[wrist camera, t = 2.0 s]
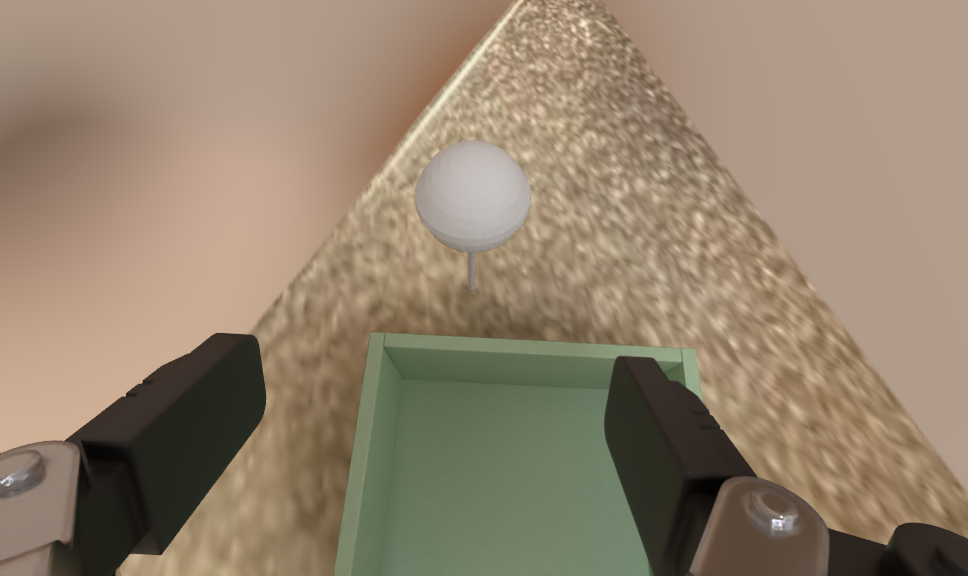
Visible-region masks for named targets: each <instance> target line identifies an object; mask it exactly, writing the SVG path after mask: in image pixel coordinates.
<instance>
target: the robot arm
mask: <svg viewBox="0 0 968 576" xmlns="http://www.w3.org/2000/svg"><path fill="white" fill-rule="evenodd" d="M265 406H266V390H265V383H264V376H263V369H262V362H261V355H260V348H259V343H258V340H257V338H256V337H255V336H254V335H247V334H228V333H216V334H214V335H212V336H211V337H210V338H208V339H207V340H206V341H204V342H203V343H202V344H201V345H200V346H198V347H197V348H196V349H194V350H193V351H192V352H191V353H189V354H186V355H184V356H182V357H180V358H178V359H175V360H173V361H171V362H169V363H167V364H165V365H163V366H161V367H160V368H158V369H157V370H156V371H154V372H153V373H152V374H151V375H149V376H148V377H147V378H145V379H144V380H143V383H142V384H138V385H136V386H135V387H134V388H132V389H131V390H130V391H128V392H127V393H126V396H125V397H121V398H119V399H118V400H117V401H115V402H114V403H113V404H112V405H110V406H109V407H108V408H106V409H105V410H104V411H102V412H101V413H100V414H99V415H97V416H96V417H95V418H93V419H92V420H91V421H89V423H87V424H86V425H84V426H83V427H82V428H80V429H79V430H78V431H76V432H75V433H74V434H73V435H71V436H70V437H69V438H67V439H66V440H65V441H54V440H53V441H43V442H37V443H32V444H28V445H23V446H20V447H17V448H13V449H11V450H8V451H6V452H3V453H0V576H122V575H121V572H120V570H119V566H120V565H121V564H122V563H123V562H124V560H125V559H126V558H127V557H128V555H129V554H148V555H162V554H163V552H164V551H165V549H166V548H167V547H168V545H169V544H170V543H171V541H172V540H173V539H174V537H175V536H176V535H177V533H178V532H179V531H180V529H181V528H182V527H183V525H184V524H185V523H186V521H187V520H188V519H189V517H190V516H191V515H192V513H193V512H194V510H195V509H196V508H197V506H198V505H199V504H200V502H201V501H202V500H203V498H204V497H205V496H206V494H207V493H208V492H209V490H210V489H211V488H212V486H213V485H214V484H215V482H216V481H217V480H218V478H219V477H220V476H221V474H222V473H223V471H224V470H225V469H226V467H227V466H228V465H229V463H230V462H231V461H232V459H233V458H234V457H235V455H236V454H237V453H238V451H239V450H240V449H241V447H242V446H243V445H244V443H245V442H246V441H247V439H248V438H249V437H250V435H251V434H252V432H253V431H254V430H255V428H256V427H257V426H258V424H259V423H260V421H261V419H262V417H263V414H264V411H265ZM604 432H605V439H606V443H607V446H608V448H609V451H610V454H611V457H612V460H613V463H614V465H615V468H616V471H617V474H618V477H619V479H620V482H621V485H622V488H623V491H624V493H625V496H626V499H627V502H628V505H629V507H630V510H631V513H632V516H633V519H634V521H635V524H636V527H637V530H638V533H639V536H640V538H641V541H642V544H643V547H644V550H645V552H646V555H647V558H648V561H649V564H650V566H651V569H652V572H653V575H654V576H968V539H967V538H965V537H963V536H961V535H958V534H956V533H953V532H951V531H949V530H946V529H943V528H940V527H936V526H933V525H929V524H923V523H905V524H902V525H900V526H898V527H897V528H896V529H895V531H894V533H893V535H892V537H891V539H890V541H889V543H888V545H884V544H880V543H877V542H873V541H870V540H866V539H863V538H860V537H856V536H853V535H849V534H846V533H842V532H839V531H836V530H832V529H829V528H827V526H826V524H825V523H824V521H823V519H822V518H821V517H820V515H819V514H818V513H817V512H816V511H815V510H814V509H813V508H812V507H811V506H810V505H809V504H808V503H807V502H806V501H805V500H803V499H802V498H800V497H799V496H798V495H796V494H795V493H793V492H791V491H790V490H788V489H786V488H784V487H782V486H780V485H778V484H775V483H773V482H770V481H767V480H764V479H761V478H758V477H757V475H756V474H755V473H754V471H753V470H752V469H751V467H750V466H749V465H748V463H747V462H746V461H745V459H744V458H743V456H742V455H741V454H740V452H739V451H738V450H737V448H736V447H735V446H734V444H733V443H732V442H731V440H730V439H729V438H728V436H727V435H726V433H725V432H724V431H723V430H720V425H719V424H718V423H717V421H716V420H715V419H714V417H713V416H712V415H710V412H709V410H708V409H707V408H706V406H705V405H704V404H703V402H702V401H701V400H700V398H699V397H698V396H697V395H696V394H695V393H693V392H692V391H691V390H689V389H688V388H686V387H685V386H684V385H682V384H681V383H680V382H678V381H669V379H668V378H667V376H666V375H665V373H664V372H663V370H662V369H661V367H660V366H659V365H658V363H657V362H656V360H655V359H654V358H652V357H636V356H618V357H617V358H616V360H615V362H614V366H613V371H612V377H611V382H610V388H609V393H608V399H607V404H606V410H605V416H604Z"/></svg>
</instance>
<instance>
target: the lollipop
mask: <svg viewBox="0 0 968 576" xmlns="http://www.w3.org/2000/svg"><path fill="white" fill-rule="evenodd" d="M530 200H531V192H530V184H529V182H528V179H527V177H526V175H525V174H524V172H523V171H522V169H521V168H520V166H519V165H518V164H517V163H516V161H515V160H514V159H513V158H512V157H511V156H510V155H509V154H508V153H507V152H505V151H504V150H503V149H501V148H499V147H497V146H495V145H493V144H490V143H487V142H483V141H476V140H472V141H463V142H458V143H456V144H453V145H450V146H448V147H446V148H444V149H443V150H441V151H440V152H439V153H437V154H436V155H435V156H434V157H433V159H432V160H431V161H430V162H429V163H428V165H427V166H426V167H425V169H424V170H423V171H422V173H421V175H420V177H419V179H418V181H417V185H416V189H415V205H416V209H417V213H418V215H419V217H420V219H421V221H422V223H423V224H424V225H425V226H426V227H427V228H428V230H429V231H430V232H431V233H432V234H433V235H434V237H435V238H436V239H438V240H439V241H440V242H441V243H443V244H444V245H446V246H448V247H450V248H452V249H455V250H458V251H462V252H468V289H469V291H473V290H474V277H475V252H484V251H488V250H492V249H494V248H496V247H499V246H500V245H502V244H503V243H505V242H506V241H507V240H508V239H509V238H510V237H511V236H512V235H513V234H514V233H515V232H516V231H517V230H518V229H519V227H520V226H521V225H522V223H523V222H524V220H525V219H526V217H527V214H528V211H529V208H530Z"/></svg>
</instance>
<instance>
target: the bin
mask: <svg viewBox="0 0 968 576" xmlns="http://www.w3.org/2000/svg"><path fill="white" fill-rule="evenodd" d="M618 356H636V357H652V358H654V359H655V360H656V362H657V363H658V365H659V366H660V367H661V369H662V370H663V372H664V373H665V375H666V376H667V378H668V379H669V381H678V382H680V383H681V384H682V385H684V386H685V387H686V388H688V389H689V390H691V391H692V392H693V393H695V394H696V395H697V396H698V397H699V398H700V400H701V401H702V402H703V397H702V391H701V384H700V377H699V371H698V364H697V357H696V351H695V349H690V348H668V347H650V346H631V345H612V344H593V343H574V342H555V341H536V340H517V339H498V338H479V337H460V336H441V335H422V334H403V333H383V332H371V333H370V338H369V345H368V351H367V358H366V364H365V371H364V377H363V384H362V390H361V397H360V403H359V410H358V416H357V423H356V429H355V436H354V442H353V449H352V455H351V462H350V468H349V475H348V481H347V488H346V494H345V501H344V507H343V514H342V520H341V527H340V533H339V540H338V546H337V553H336V559H335V566H334V572H333V576H654V575H653V572H652V569H651V566H650V564H649V561H648V558H647V555H646V552H645V550H644V547H643V544H642V541H641V538H640V536H639V533H638V530H637V527H636V524H635V521H634V519H633V516H632V513H631V510H630V507H629V505H628V502H627V499H626V496H625V493H624V491H623V488H622V485H621V482H620V479H619V477H618V474H617V471H616V468H615V465H614V463H613V460H612V457H611V454H610V451H609V448H608V446H607V443H606V439H605V432H604V416H605V410H606V404H607V399H608V393H609V388H610V382H611V377H612V371H613V366H614V362H615V360H616V358H617V357H618Z"/></svg>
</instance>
